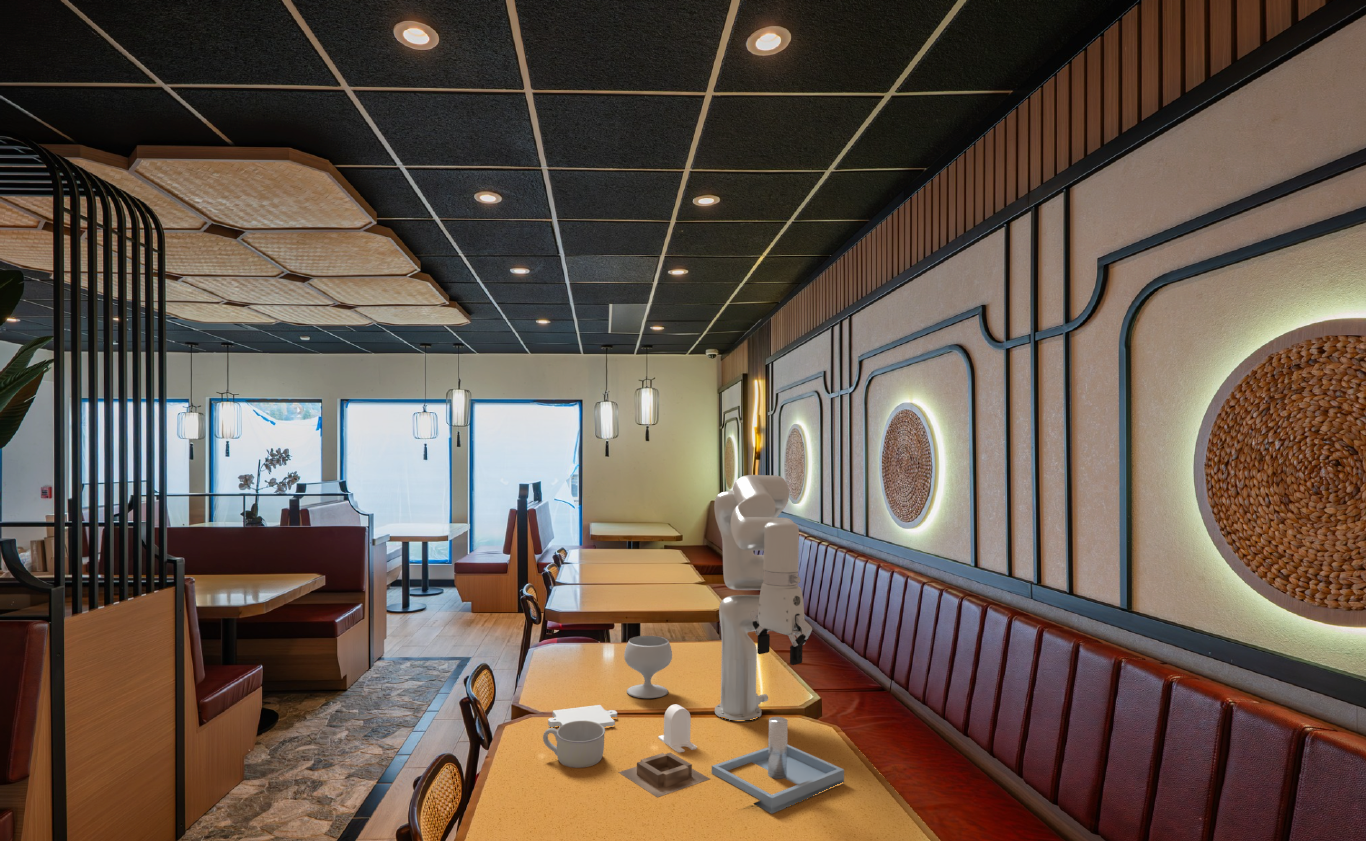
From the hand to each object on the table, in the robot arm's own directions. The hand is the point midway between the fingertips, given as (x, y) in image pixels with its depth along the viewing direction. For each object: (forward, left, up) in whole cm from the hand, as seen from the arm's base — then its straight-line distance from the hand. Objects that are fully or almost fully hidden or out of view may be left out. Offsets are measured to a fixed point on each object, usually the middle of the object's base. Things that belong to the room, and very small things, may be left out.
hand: (779, 658), depth 157 cm
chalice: (-11, -63, -26) cm, 69 cm away
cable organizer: (+7, -26, -26) cm, 38 cm away
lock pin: (0, 0, -25) cm, 25 cm away
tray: (0, 0, -26) cm, 26 cm away
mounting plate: (+16, -54, -27) cm, 62 cm away
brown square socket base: (+20, -14, -26) cm, 36 cm away
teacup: (+31, -33, -26) cm, 52 cm away
